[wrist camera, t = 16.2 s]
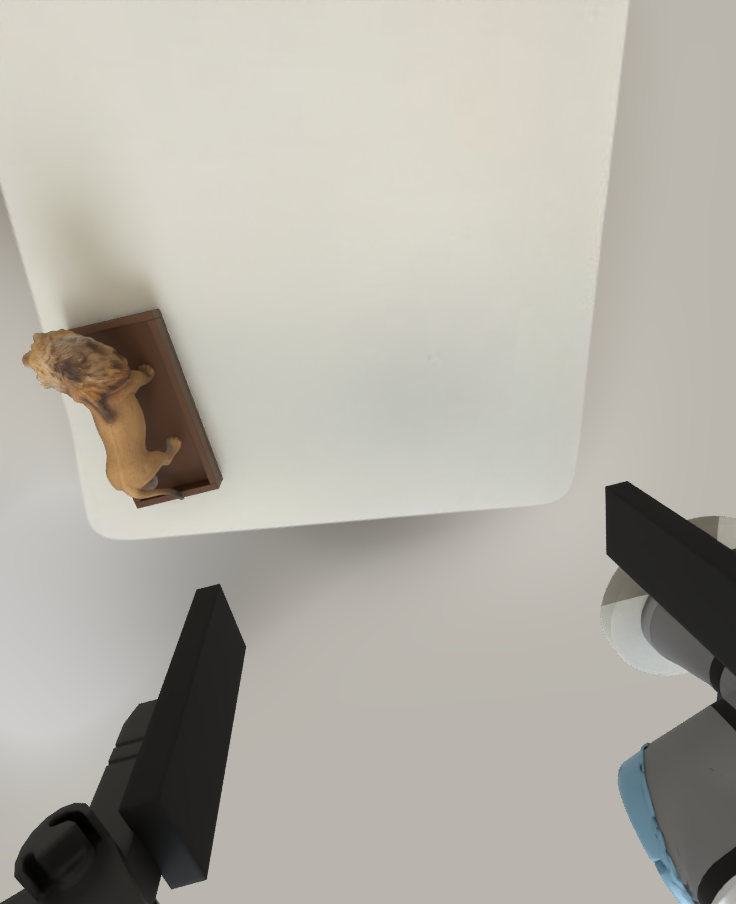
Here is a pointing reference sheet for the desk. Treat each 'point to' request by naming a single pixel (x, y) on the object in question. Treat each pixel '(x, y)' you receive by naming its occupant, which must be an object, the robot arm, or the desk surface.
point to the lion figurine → (105, 405)
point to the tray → (162, 403)
